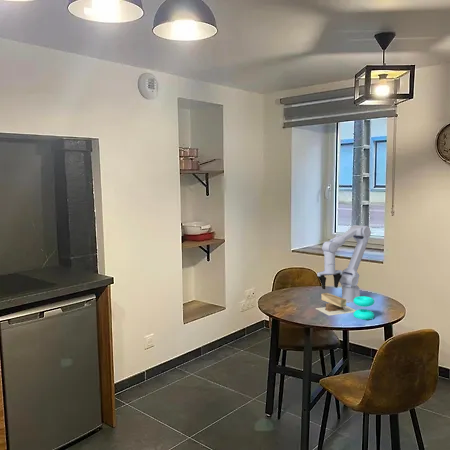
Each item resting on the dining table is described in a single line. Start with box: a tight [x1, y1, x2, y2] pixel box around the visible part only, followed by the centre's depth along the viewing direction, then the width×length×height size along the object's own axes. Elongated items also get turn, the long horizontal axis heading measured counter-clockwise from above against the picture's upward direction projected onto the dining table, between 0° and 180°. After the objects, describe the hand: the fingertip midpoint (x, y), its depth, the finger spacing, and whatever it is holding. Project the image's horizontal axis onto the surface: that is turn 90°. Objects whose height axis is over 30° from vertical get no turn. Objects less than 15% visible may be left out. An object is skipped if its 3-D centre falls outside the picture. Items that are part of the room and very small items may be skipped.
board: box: [315, 305, 357, 316], centre depth 244 cm, size 18×14×1 cm
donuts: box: [352, 295, 375, 321], centre depth 231 cm, size 10×10×10 cm
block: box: [325, 302, 344, 312], centre depth 245 cm, size 9×4×4 cm, turn 108°
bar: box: [321, 292, 347, 307], centre depth 245 cm, size 4×16×4 cm, turn 25°
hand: (329, 288), depth 254 cm, fingers open, 7 cm apart
